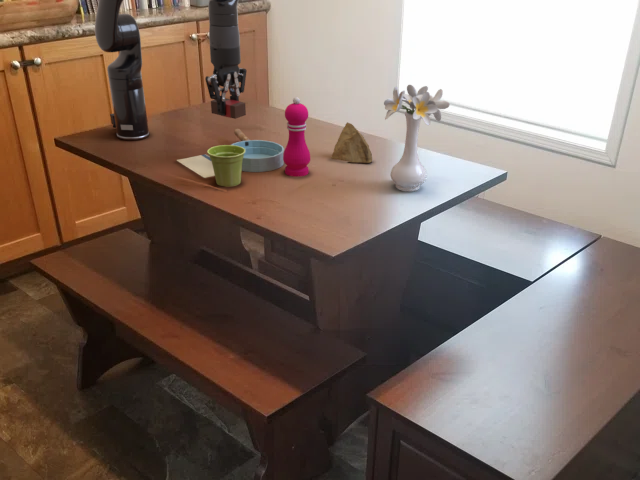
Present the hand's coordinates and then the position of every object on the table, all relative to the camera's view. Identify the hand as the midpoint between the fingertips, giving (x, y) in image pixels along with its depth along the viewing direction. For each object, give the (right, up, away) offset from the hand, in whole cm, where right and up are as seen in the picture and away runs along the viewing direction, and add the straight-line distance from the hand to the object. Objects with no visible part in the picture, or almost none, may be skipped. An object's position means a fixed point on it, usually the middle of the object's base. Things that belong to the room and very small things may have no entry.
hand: (228, 112), depth 181 cm
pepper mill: (+18, -16, +3) cm, 24 cm away
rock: (+33, -10, +12) cm, 37 cm away
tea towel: (-7, -13, +5) cm, 16 cm away
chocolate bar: (0, 0, 0) cm, 0 cm away
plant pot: (+1, -20, -5) cm, 21 cm away
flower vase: (+47, -20, -3) cm, 51 cm away
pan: (+6, -11, +8) cm, 15 cm away
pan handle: (+1, -3, +17) cm, 17 cm away
